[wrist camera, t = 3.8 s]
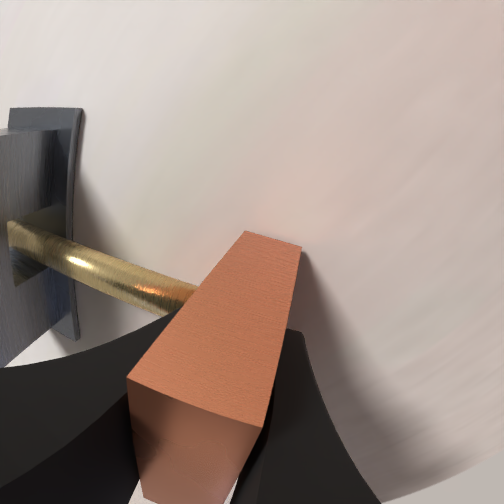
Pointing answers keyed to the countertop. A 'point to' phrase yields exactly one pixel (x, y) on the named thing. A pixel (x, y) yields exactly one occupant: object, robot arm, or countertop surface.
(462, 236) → the countertop surface
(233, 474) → the brass rod mallet
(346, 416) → the countertop surface
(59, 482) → the robot arm
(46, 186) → the eye block
